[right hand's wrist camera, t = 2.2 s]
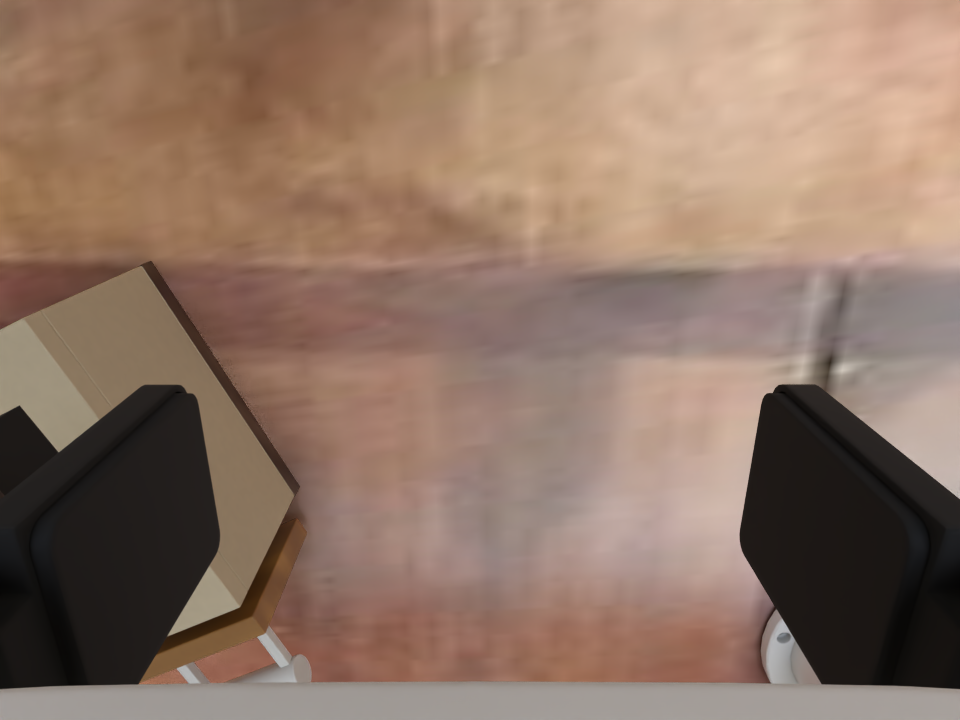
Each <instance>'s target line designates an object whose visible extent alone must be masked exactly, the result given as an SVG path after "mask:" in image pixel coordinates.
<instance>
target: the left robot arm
mask: <svg viewBox="0 0 960 720" xmlns="http://www.w3.org/2000/svg"><path fill="white" fill-rule="evenodd" d="M57 453H59V452H58V451H57V450H56V449H55V447H54V446H53V445H52V444H51V443H50V441H49V440H48V439H47V438H46V437H45V435H44V434H43V433H42V432H41V430H40V429H39V428H38V427H37V426H36V424H35V423H34V422H33V421H32V420H31V418H30V417H29V416H28V415H27V414H26V412H25V411H24V410H23V409H22V408H21V406H20V405H19V406H17V407H15V408H13V409H11V410H10V411H8V412H6V413H4V414H2V415H0V499H1V498H3V497H4V496H5V495H6V494H8V493H9V492H10V491H11V490H12V489H14V488H15V487H16V486H17V485H19V484H20V483H21V482H22V481H24V480H25V479H26V478H27V477H29V476H30V475H31V474H32V473H34V472H35V471H36V470H37V469H39V468H40V467H41V466H42V465H44V464H45V463H46V462H47V461H49V460H50V459H51V458H52V457H54V456H55V455H56V454H57Z"/></svg>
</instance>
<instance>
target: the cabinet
mask: <svg viewBox="0 0 960 720" xmlns="http://www.w3.org/2000/svg"><path fill="white" fill-rule="evenodd" d="M143 385H182V386H183V387H184V388H185V390H186V392H187V393H192V394H194V395H195V396H196V398H197V400H198V404H199V410H200V416H201V421H202V427H203V433H204V439H205V445H206V451H207V457H208V463H209V469H210V474H211V480H212V486H213V492H214V498H215V504H216V510H217V516H218V522H219V527H220V544H219V548H218V552H217V554H216V556H215V557H214V559H213V561H212V562H211V564H210V566H209V567H208V569H207V571H206V572H205V574H204V576H203V577H202V579H201V581H200V582H199V584H198V586H197V587H196V589H195V591H194V592H193V594H192V596H191V597H190V599H189V601H188V602H187V604H186V606H185V607H184V609H183V611H182V612H181V614H180V616H179V617H178V619H177V621H176V622H175V624H174V626H173V627H172V629H171V631H170V632H169V634H168V636H170V635H172V634H175V633H177V632H180V631H182V630H185V629H187V628H190V627H192V626H195V625H197V624H200V623H202V622H205V621H207V620H210V619H212V618H215V617H217V616H220V615H222V614H225V613H227V612H230V611H232V610H235V609H237V608H239V607H241V604H242V602H243V600H244V598H245V596H246V594H247V591H248V590H249V588H250V586H251V584H252V582H253V580H254V578H255V575H256V573H257V571H258V569H259V567H260V565H261V563H262V561H263V559H264V557H265V555H266V553H267V551H268V549H269V547H270V545H271V543H272V541H273V539H274V537H275V535H276V533H277V530H278V528H279V526H280V524H281V522H282V520H283V518H284V516H285V514H286V512H287V510H288V508H289V506H290V504H291V502H292V500H293V498H294V496H295V495H296V493H297V491H298V489H299V487H300V486H299V485H298V483H297V482H296V480H295V479H294V477H293V476H292V474H291V473H290V471H289V470H288V468H287V467H286V465H285V464H284V462H283V461H282V459H281V458H280V456H279V455H278V453H277V452H276V450H275V448H274V447H273V445H272V444H271V442H270V441H269V439H268V438H267V436H266V435H265V433H264V432H263V430H262V429H261V427H260V426H259V424H258V423H257V421H256V420H255V418H254V417H253V415H252V414H251V412H250V411H249V409H248V407H247V406H246V404H245V403H244V401H243V400H242V398H241V397H240V395H239V394H238V392H237V391H236V389H235V388H234V386H233V385H232V383H231V382H230V380H229V379H228V377H227V376H226V374H225V373H224V371H223V369H222V368H221V366H220V365H219V363H218V362H217V360H216V359H215V357H214V356H213V354H212V353H211V351H210V350H209V348H208V347H207V345H206V344H205V342H204V341H203V339H202V338H201V336H200V335H199V333H198V332H197V330H196V328H195V327H194V325H193V324H192V322H191V321H190V319H189V318H188V316H187V315H186V313H185V312H184V310H183V309H182V307H181V306H180V304H179V303H178V301H177V300H176V298H175V297H174V295H173V294H172V292H171V291H170V289H169V287H168V286H167V284H166V283H165V281H164V280H163V278H162V277H161V275H160V274H159V272H158V271H157V269H156V268H155V266H154V265H153V263H152V262H151V261H150V262H147V263H145V264H143V265H141V266H139V267H137V268H135V269H132V270H130V271H128V272H126V273H123V274H121V275H119V276H117V277H114V278H112V279H110V280H108V281H105V282H103V283H101V284H99V285H96V286H94V287H92V288H90V289H87V290H85V291H83V292H81V293H78V294H76V295H74V296H72V297H69V298H67V299H65V300H63V301H60V302H58V303H56V304H54V305H51V306H49V307H47V308H45V309H42V310H40V311H38V312H36V313H33V314H31V315H29V316H27V317H24V318H22V319H20V320H18V321H16V322H14V323H12V324H10V325H8V326H6V327H4V328H2V329H1V330H0V415H2V414H4V413H6V412H8V411H10V410H11V409H13V408H15V407H17V406H19V405H20V406H21V408H22V409H23V410H24V411H25V412H26V414H27V415H28V416H29V417H30V418H31V420H32V421H33V422H34V423H35V424H36V426H37V427H38V428H39V429H40V430H41V432H42V433H43V434H44V435H45V437H46V438H47V439H48V440H49V441H50V443H51V444H52V445H53V446H54V447H55V449H56V450H57V451H58V452H60V451H61V450H62V449H64V448H65V447H66V446H67V445H69V444H70V443H71V442H72V441H74V440H75V439H76V438H77V437H79V436H80V435H81V434H82V433H84V432H85V431H86V430H87V429H89V428H90V427H91V426H92V425H94V424H95V423H96V422H97V421H98V420H100V419H101V418H102V417H103V416H105V415H106V414H107V413H108V412H110V411H111V410H112V409H113V408H115V407H116V406H117V405H118V404H120V403H121V402H122V401H123V400H125V399H126V398H127V397H128V396H130V395H131V394H132V393H133V392H135V391H136V390H137V389H138V388H140V387H141V386H143Z"/></svg>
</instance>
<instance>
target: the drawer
mask: <svg viewBox="0 0 960 720" xmlns="http://www.w3.org/2000/svg"><path fill="white" fill-rule="evenodd" d="M306 535H307V532H306V530H305V529H304V527H303V526H302V524H301V523H300V521H299V520H298V518H296V519H293V520H291V521H289V522H286V523H284V524H282V525H280V526H279V528H278V530H277V533H276V535H275V537H274V539H273V541H272V543H271V545H270V547H269V549H268V551H267V553H266V555H265V557H264V559H263V561H262V563H261V565H260V567H259V569H258V571H257V573H256V575H255V578H254V580H253V582H252V584H251V586H250V588H249V590H248V591H247V594H246V596H245V598H244V600H243V602H242V604H241V607H239V608H237V609H235V610H232V611H230V612H227V613H225V614H222V615H220V616H217V617H215V618H212V619H210V620H207V621H205V622H202V623H200V624H197V625H195V626H192V627H190V628H187V629H185V630H182V631H180V632H177V633H175V634H172V635H170V636H167V637H166V639H165V641H164V642H163V644H162V646H161V647H160V649H159V651H158V652H157V654H156V656H155V657H154V659H153V661H152V663H151V664H150V666H149V668H148V669H147V671H146V673H145V674H144V676H143V678H142V679H141V681H140V683H141V682H143V681H146V680H148V679H151V678H154V677H156V676H159V675H161V674H164V673H166V672H169V671H171V670H174V669H177V670H178V671H179V672H180V673H181V675H182V676H183V677H184V678H185V679H186V681H187V682H188V683H189V684H192V683H210V682H209V680H208V679H207V678H206V677H205V675H204V674H203V673H202V672H201V671H200V669H199V668H198V667H197V666H196V664H195V663H194V662H195V661H197V660H200V659H202V658H205V657H207V656H210V655H212V654H215V653H218V652H220V651H223V650H225V649H228V648H230V647H233V646H235V645H238V644H241V643H243V642H246V641H248V640H251V639H253V638H256V637H257V638H258V639H259V640H260V642H261V643H262V644H263V646H264V647H265V648H266V650H267V651H268V652H269V653H270V655H271V656H272V657H273V659H274V660H275V661H276V663H274V664H271V665H269V666H266V667H263V668H261V669H258V670H256V671H253V672H250V673H248V674H245V675H242V676H240V677H237V678H235V679H232V680H229V681H227V682H224V683H263V682H311V678H312V673H311V667H310V664H309V662H308V660H307V658H306V657H305V656H304V655H301V654H297V655H295V656H291V654H290V653H289V652H288V650H287V649H286V648H285V646H284V645H283V644H282V642H281V641H280V639H279V638H278V637H277V635H276V634H275V633H274V631H273V630H272V629H271V627H270V626H269V624H270V621H271V619H272V617H273V614H274V612H275V609H276V607H277V604H278V602H279V600H280V597H281V595H282V592H283V590H284V588H285V585H286V583H287V580H288V578H289V576H290V573H291V571H292V568H293V566H294V563H295V561H296V559H297V556H298V554H299V551H300V549H301V547H302V544H303V542H304V539H305V537H306Z"/></svg>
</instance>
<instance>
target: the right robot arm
mask: <svg viewBox="0 0 960 720" xmlns="http://www.w3.org/2000/svg"><path fill="white" fill-rule="evenodd" d="M219 544H220V527H219V522H218V516H217V510H216V504H215V498H214V492H213V486H212V480H211V474H210V469H209V463H208V457H207V451H206V445H205V439H204V433H203V427H202V421H201V416H200V410H199V404H198V400H197V398H196V396H195V395H194V394H192V393H187V392H186V390H185V388H184V387H183V386H182V385H143V386H141V387H140V388H138V389H137V390H136V391H135V392H133V393H132V394H131V395H130V396H128V397H127V398H126V399H125V400H123V401H122V402H121V403H120V404H118V405H117V406H116V407H115V408H113V409H112V410H111V411H110V412H108V413H107V414H106V415H105V416H103V417H102V418H101V419H100V420H98V421H97V422H96V423H95V424H94V425H92V426H91V427H90V428H89V429H87V430H86V431H85V432H84V433H82V434H81V435H80V436H79V437H77V438H76V439H75V440H74V441H72V442H71V443H70V444H69V445H67V446H66V447H65V448H64V449H62V450H61V451H60V452H59V453H57V454H56V455H55V456H54V457H52V458H51V459H50V460H49V461H47V462H46V463H45V464H44V465H42V466H41V467H40V468H39V469H37V470H36V471H35V472H34V473H32V474H31V475H30V476H29V477H27V478H26V479H25V480H24V481H22V482H21V483H20V484H19V485H17V486H16V487H15V488H14V489H12V490H11V491H10V492H9V493H8V494H6V495H5V496H4V497H3V498H1V499H0V720H960V499H959V498H957V497H956V496H955V495H954V494H952V493H951V492H950V491H949V490H948V489H946V488H945V487H944V486H943V485H941V484H940V483H939V482H938V481H936V480H935V479H934V478H933V477H931V476H930V475H929V474H928V473H926V472H925V471H924V470H923V469H921V468H920V467H919V466H918V465H916V464H915V463H914V462H913V461H911V460H910V459H909V458H908V457H906V456H905V455H904V454H903V453H901V452H900V451H899V450H898V449H896V448H895V447H894V446H893V445H891V444H890V443H889V442H888V441H886V440H885V439H884V438H883V437H881V436H880V435H879V434H878V433H876V432H875V431H874V430H873V429H871V428H870V427H869V426H868V425H866V424H865V423H864V422H863V421H862V420H860V419H859V418H858V417H857V416H855V415H854V414H853V413H852V412H850V411H849V410H848V409H847V408H845V407H844V406H843V405H842V404H840V403H839V402H838V401H837V400H835V399H834V398H833V397H832V396H830V395H829V394H828V393H827V392H825V391H824V390H823V389H822V388H820V387H819V386H817V385H778V386H777V387H776V388H775V390H774V392H773V393H768V394H766V395H765V396H764V398H763V400H762V404H761V410H760V416H759V421H758V427H757V433H756V439H755V445H754V451H753V457H752V463H751V469H750V474H749V480H748V486H747V492H746V498H745V504H744V510H743V516H742V522H741V527H740V544H741V548H742V552H743V554H744V556H745V557H746V559H747V561H748V562H749V564H750V566H751V567H752V569H753V571H754V572H755V574H756V576H757V577H758V579H759V581H760V582H761V584H762V586H763V587H764V589H765V591H766V592H767V594H768V596H769V597H770V599H771V601H772V602H773V604H774V606H775V607H776V610H775V611H774V613H773V615H772V616H771V618H770V619H769V621H768V623H767V626H766V628H765V631H764V634H763V636H762V644H761V658H762V665H763V667H764V670H765V672H766V675H767V677H768V679H769V681H770V682H771V684H768V683H697V682H486V681H474V682H263V683H192V684H139V683H140V681H141V679H142V678H143V676H144V674H145V673H146V671H147V669H148V668H149V666H150V664H151V663H152V661H153V659H154V657H155V656H156V654H157V652H158V651H159V649H160V647H161V646H162V644H163V642H164V641H165V639H166V637H167V636H168V634H169V632H170V631H171V629H172V627H173V626H174V624H175V622H176V621H177V619H178V617H179V616H180V614H181V612H182V611H183V609H184V607H185V606H186V604H187V602H188V601H189V599H190V597H191V596H192V594H193V592H194V591H195V589H196V587H197V586H198V584H199V582H200V581H201V579H202V577H203V576H204V574H205V572H206V571H207V569H208V567H209V566H210V564H211V562H212V561H213V559H214V557H215V556H216V554H217V552H218V548H219ZM138 684H139V685H138Z"/></svg>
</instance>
